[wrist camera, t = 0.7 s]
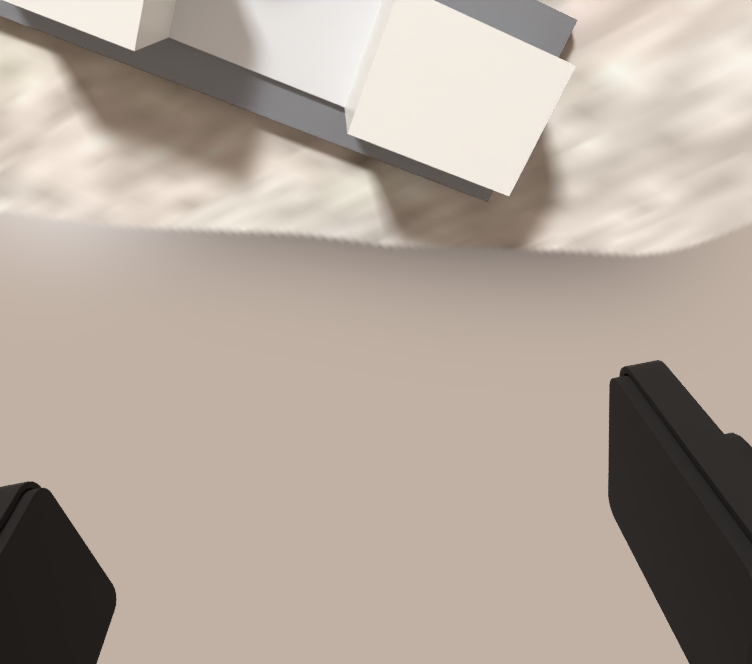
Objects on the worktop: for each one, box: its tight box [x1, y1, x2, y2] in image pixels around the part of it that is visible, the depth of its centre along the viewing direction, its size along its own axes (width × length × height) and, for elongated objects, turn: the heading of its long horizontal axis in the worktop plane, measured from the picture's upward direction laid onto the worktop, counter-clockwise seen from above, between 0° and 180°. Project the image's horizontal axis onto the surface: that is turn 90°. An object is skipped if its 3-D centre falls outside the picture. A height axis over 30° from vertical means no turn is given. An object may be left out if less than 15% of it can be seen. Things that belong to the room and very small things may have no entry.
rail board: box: [0, 0, 577, 202], centre depth 30 cm, size 10×28×2 cm, turn 69°
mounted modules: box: [3, 0, 576, 196], centre depth 26 cm, size 6×25×6 cm, turn 69°
